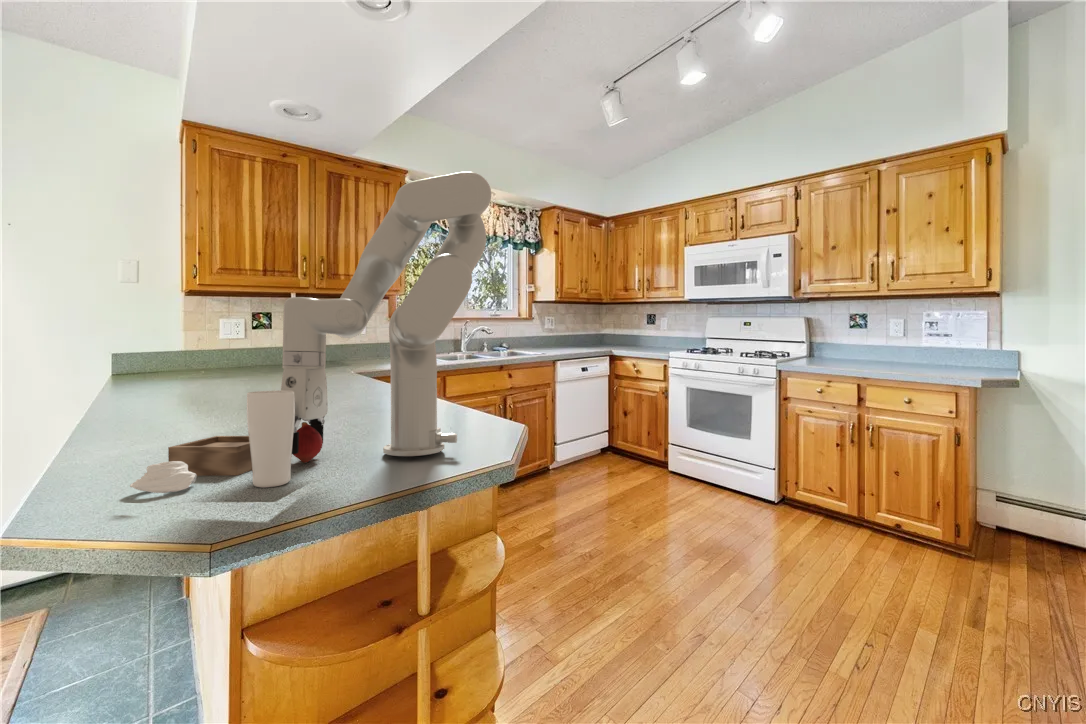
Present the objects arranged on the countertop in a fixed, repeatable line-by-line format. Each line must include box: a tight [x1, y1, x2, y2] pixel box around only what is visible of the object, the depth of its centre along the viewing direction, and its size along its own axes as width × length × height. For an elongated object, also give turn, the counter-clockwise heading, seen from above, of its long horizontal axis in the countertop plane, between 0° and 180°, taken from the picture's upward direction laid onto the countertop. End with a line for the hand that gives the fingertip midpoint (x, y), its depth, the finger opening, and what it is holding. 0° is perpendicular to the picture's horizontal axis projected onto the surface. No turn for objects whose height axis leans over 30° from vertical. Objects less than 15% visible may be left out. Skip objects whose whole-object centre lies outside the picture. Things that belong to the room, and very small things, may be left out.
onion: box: [292, 421, 324, 464], centre depth 91 cm, size 6×6×8 cm
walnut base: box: [167, 435, 252, 477], centre depth 87 cm, size 12×12×5 cm
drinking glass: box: [246, 390, 295, 488], centre depth 76 cm, size 7×7×15 cm
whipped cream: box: [129, 461, 198, 494], centre depth 72 cm, size 8×7×5 cm
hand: (302, 448), depth 91 cm, fingers open, 9 cm apart
